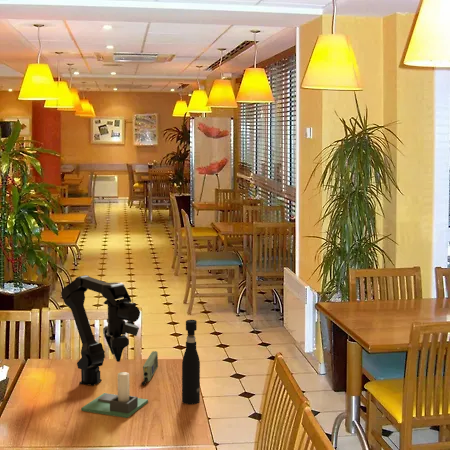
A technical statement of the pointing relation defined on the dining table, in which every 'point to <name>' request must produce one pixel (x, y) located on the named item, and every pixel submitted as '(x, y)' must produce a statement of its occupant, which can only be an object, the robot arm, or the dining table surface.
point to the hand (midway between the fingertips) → (115, 357)
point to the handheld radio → (150, 367)
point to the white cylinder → (123, 387)
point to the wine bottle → (191, 367)
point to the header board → (114, 405)
